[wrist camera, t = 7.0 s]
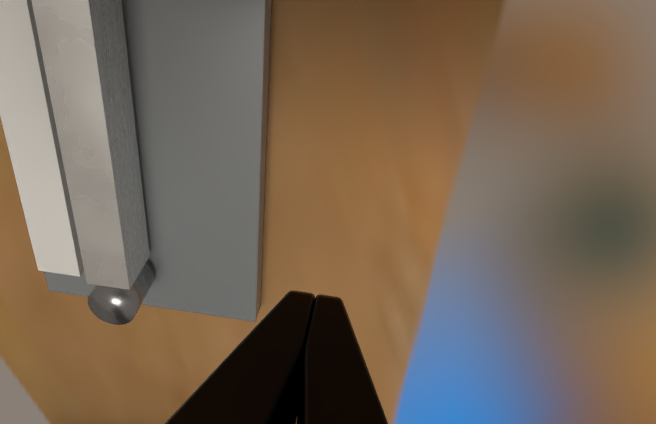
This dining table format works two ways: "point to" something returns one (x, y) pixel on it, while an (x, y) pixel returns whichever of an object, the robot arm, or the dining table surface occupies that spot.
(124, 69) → the tong arm
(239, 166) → the grey flat piece
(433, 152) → the dining table surface
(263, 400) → the robot arm
